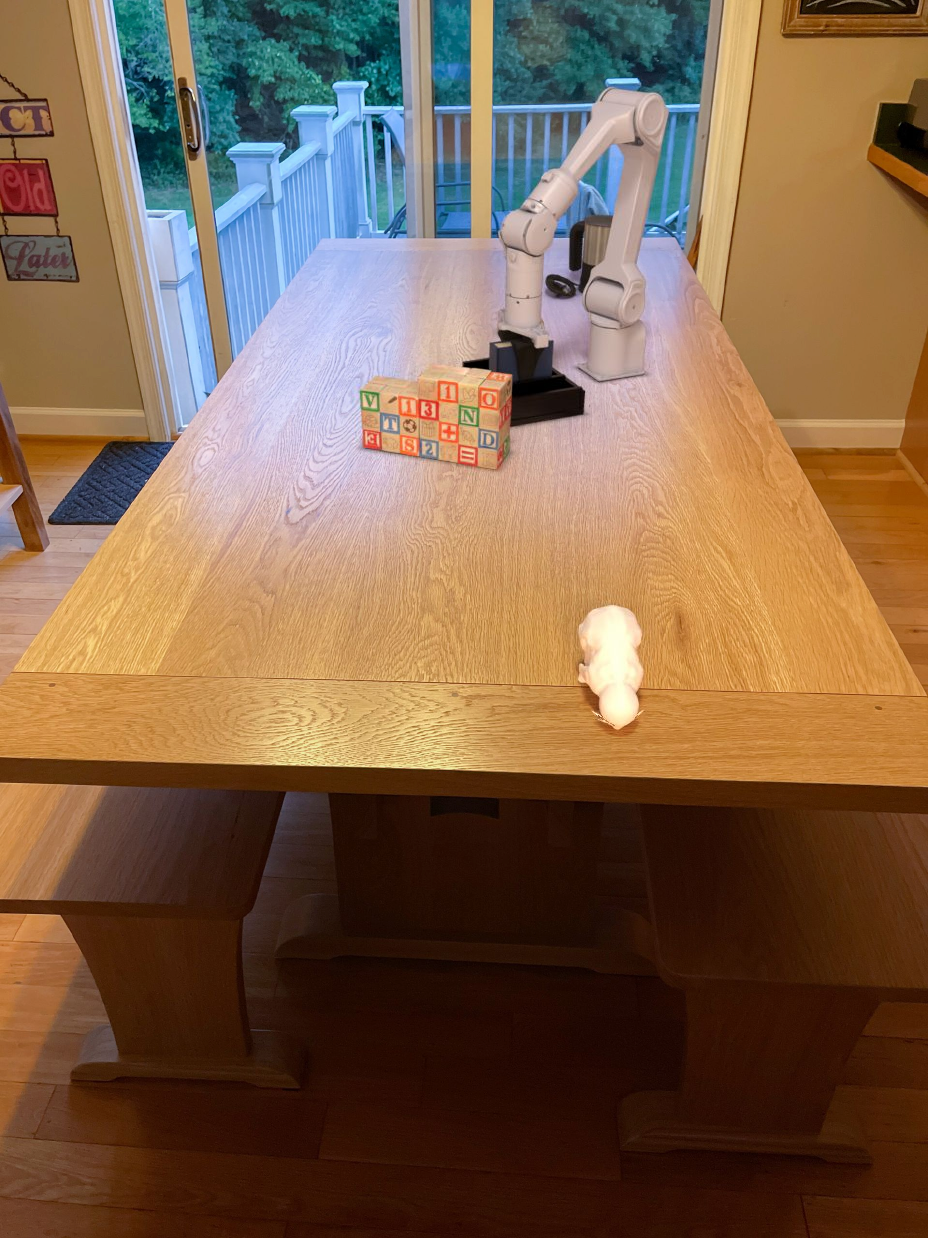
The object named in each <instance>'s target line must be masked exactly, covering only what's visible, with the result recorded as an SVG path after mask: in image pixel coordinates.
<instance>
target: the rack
mask: <svg viewBox="0 0 928 1238" xmlns="http://www.w3.org/2000/svg"><path fill="white" fill-rule="evenodd" d="M461 362H462V363H461V365H462V366H461V367H464V368H476V369H484V370H489V357H485V358H484V357H483V358H477V359H470V360H464V361H461ZM511 402H512V404H511V420H510V428H511V427H518V426H524V425H530V424H535V423H541V422H547V421H552V420H553V421H554V420H558V419H565V418H570V417H577V416H582V415H584V413H585V402H586V390H585V389H584V387H582V386H581V385H579V384H577V383H575V382H574V381H573V380H572V379H570V378H568V377H567V375H566V374H564V373H562V372H560V371H559V370H558V369H556V368H555V367H554V366H552V376H547V377H540V378H534V379H527V380H521V381H514V382H512V401H511Z"/></svg>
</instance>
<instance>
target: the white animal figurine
mask: <svg viewBox="0 0 928 1238" xmlns="http://www.w3.org/2000/svg"><path fill="white" fill-rule="evenodd" d="M577 634H578V637H579V640H578V641H579V645H580V647H581V649H582V651H584V660H583V663H579V664H578V672H579V673H578V676H577V680H578V682H579V683H580V684H586V685H588V687H589V688H590V690H591V691H592V692H593V694H595V695H597V697H598V698H599V700H598V708H599V712H600V713H598V712H595V711H594V710H591V712H592V713H593V714H594V715H596V716H597V717H598V715H599V716H600V717H602V716H603V718H604V719H605V720H607V721H608V722H609V723H608V722H606V721H605V720H602V719H601V718H597V720H598V721H600V722H602V723H605V724H608V725H609V726H611V727H612V728H613V729H614V730H620V729H622V728H623V727H625V726H627V725H629V724H630V723H631V722H633V721H634V720H636V718H637V717H638V716H639V715H641V714H642V713H643V710H641V711H640V712H639V708H640V704H639V698H638V695H637V692H638V691H639V689H640V687H641V684H642V682H643V678H644V673H645V671H644V668H643V665H642V664H641V662H640V658H639V654H638V648H639V646H640V645H641V643H642V637H643V630H642V628H641V626H640V625H639V623H638V620H637V618H636V615H635V614H634V612H633V611H632V610H630V609H629V608H627V607H622V606H619V605H615V604H608V605H605V606H600V607H596V608H594V609H592V610H591V611H589V612H588V613H587V614H586V616H585V618H584V619H583V622H582V623H580V624H579V625H578V630H577ZM584 663H585V665H586V666H584ZM638 712H639V713H638ZM637 713H638V714H637ZM601 715H602V716H601ZM637 715H638V716H637ZM636 716H637V717H636ZM635 717H636V718H635ZM610 723H612V724H614V725H615V726H613V725H612V724H610Z"/></svg>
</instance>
